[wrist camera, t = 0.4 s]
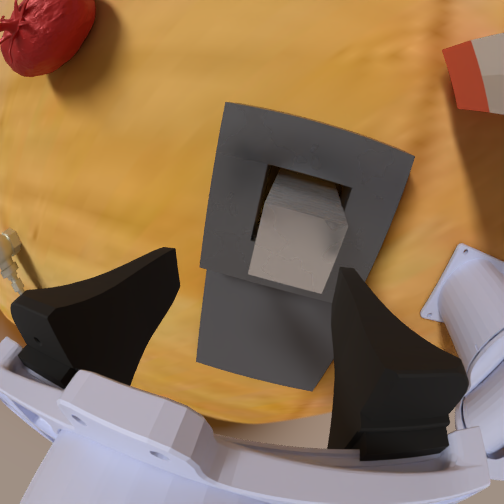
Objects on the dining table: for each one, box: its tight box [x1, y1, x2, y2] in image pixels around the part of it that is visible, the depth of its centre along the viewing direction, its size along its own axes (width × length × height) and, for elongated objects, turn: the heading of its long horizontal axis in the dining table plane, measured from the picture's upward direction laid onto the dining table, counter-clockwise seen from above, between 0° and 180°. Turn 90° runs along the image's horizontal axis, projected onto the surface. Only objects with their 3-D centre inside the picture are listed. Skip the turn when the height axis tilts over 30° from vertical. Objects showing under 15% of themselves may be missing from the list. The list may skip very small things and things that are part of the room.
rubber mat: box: [196, 269, 334, 391], centre depth 27 cm, size 14×14×1 cm
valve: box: [0, 228, 25, 295], centre depth 28 cm, size 7×7×12 cm
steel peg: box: [248, 168, 348, 294], centre depth 17 cm, size 4×4×8 cm
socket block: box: [200, 102, 415, 303], centre depth 19 cm, size 12×12×3 cm
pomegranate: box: [0, 0, 96, 77], centre depth 12 cm, size 10×10×9 cm
